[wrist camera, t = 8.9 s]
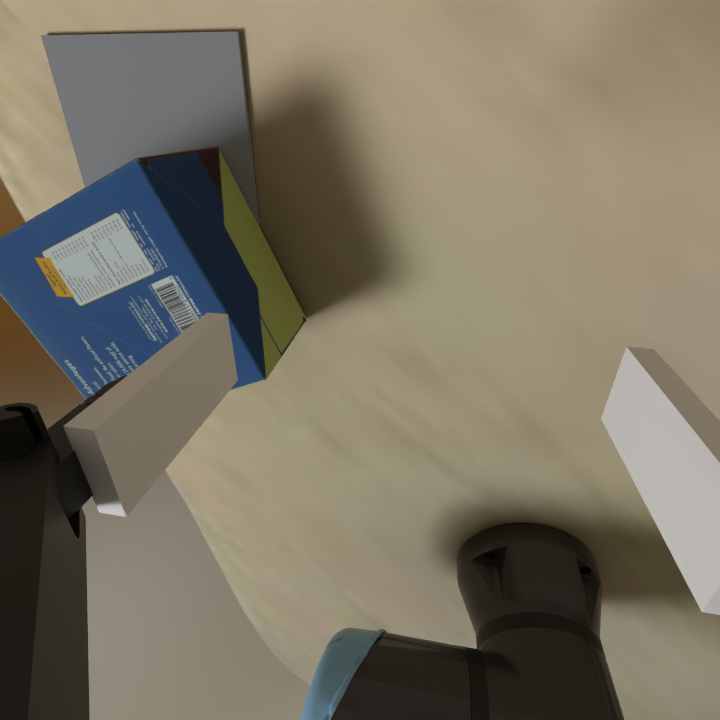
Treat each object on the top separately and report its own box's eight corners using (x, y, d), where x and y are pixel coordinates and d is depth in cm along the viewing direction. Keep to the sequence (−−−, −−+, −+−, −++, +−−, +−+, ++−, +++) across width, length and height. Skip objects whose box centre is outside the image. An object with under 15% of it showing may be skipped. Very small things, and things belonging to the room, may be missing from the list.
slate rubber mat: (270, 328, 40) (269, 330, 39) (125, 315, 42) (122, 316, 41) (240, 32, 29) (237, 31, 28) (45, 36, 31) (40, 35, 30)
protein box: (309, 321, 38) (177, 366, 43) (219, 143, 32) (78, 221, 37) (267, 384, 29) (107, 431, 34) (130, 154, 23) (-38, 254, 28)
